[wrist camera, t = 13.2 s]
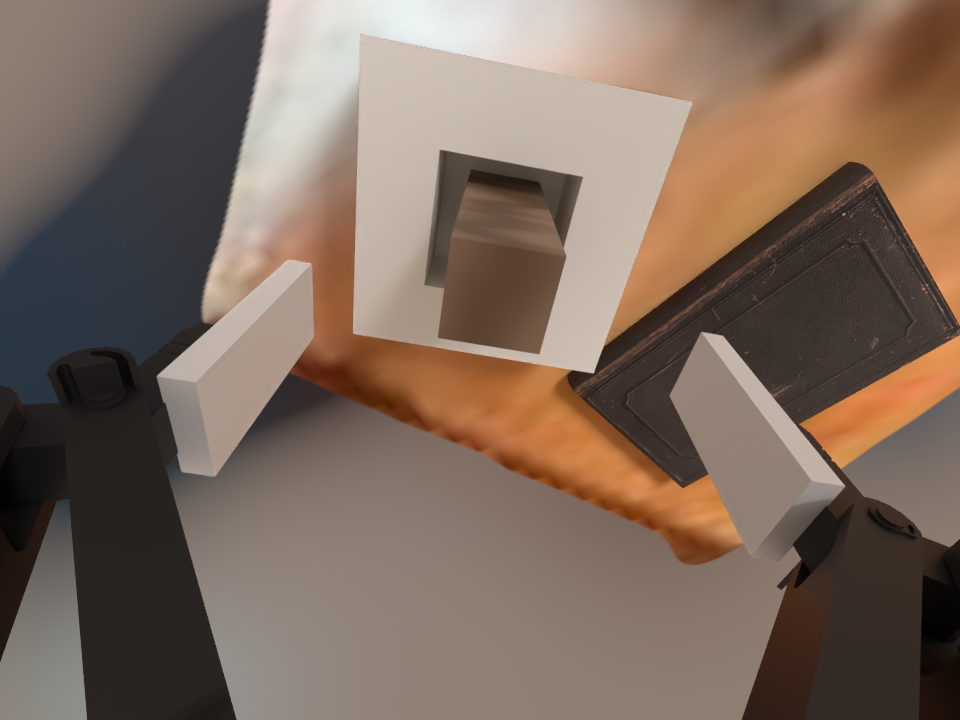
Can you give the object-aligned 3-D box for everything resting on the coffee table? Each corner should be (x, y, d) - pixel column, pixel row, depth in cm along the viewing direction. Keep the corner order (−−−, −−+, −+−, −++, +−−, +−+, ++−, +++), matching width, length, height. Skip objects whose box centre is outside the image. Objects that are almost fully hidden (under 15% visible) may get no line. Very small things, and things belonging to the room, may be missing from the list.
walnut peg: (539, 182, 29) (566, 256, 17) (524, 248, 31) (539, 354, 20) (470, 169, 29) (451, 236, 17) (461, 237, 31) (437, 337, 19)
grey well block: (656, 96, 27) (693, 102, 22) (580, 330, 36) (593, 373, 31) (387, 41, 26) (360, 34, 21) (374, 295, 35) (352, 333, 30)
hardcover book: (938, 318, 35) (964, 333, 33) (674, 470, 44) (682, 488, 42) (844, 158, 29) (869, 164, 27) (565, 370, 38) (569, 386, 36)
